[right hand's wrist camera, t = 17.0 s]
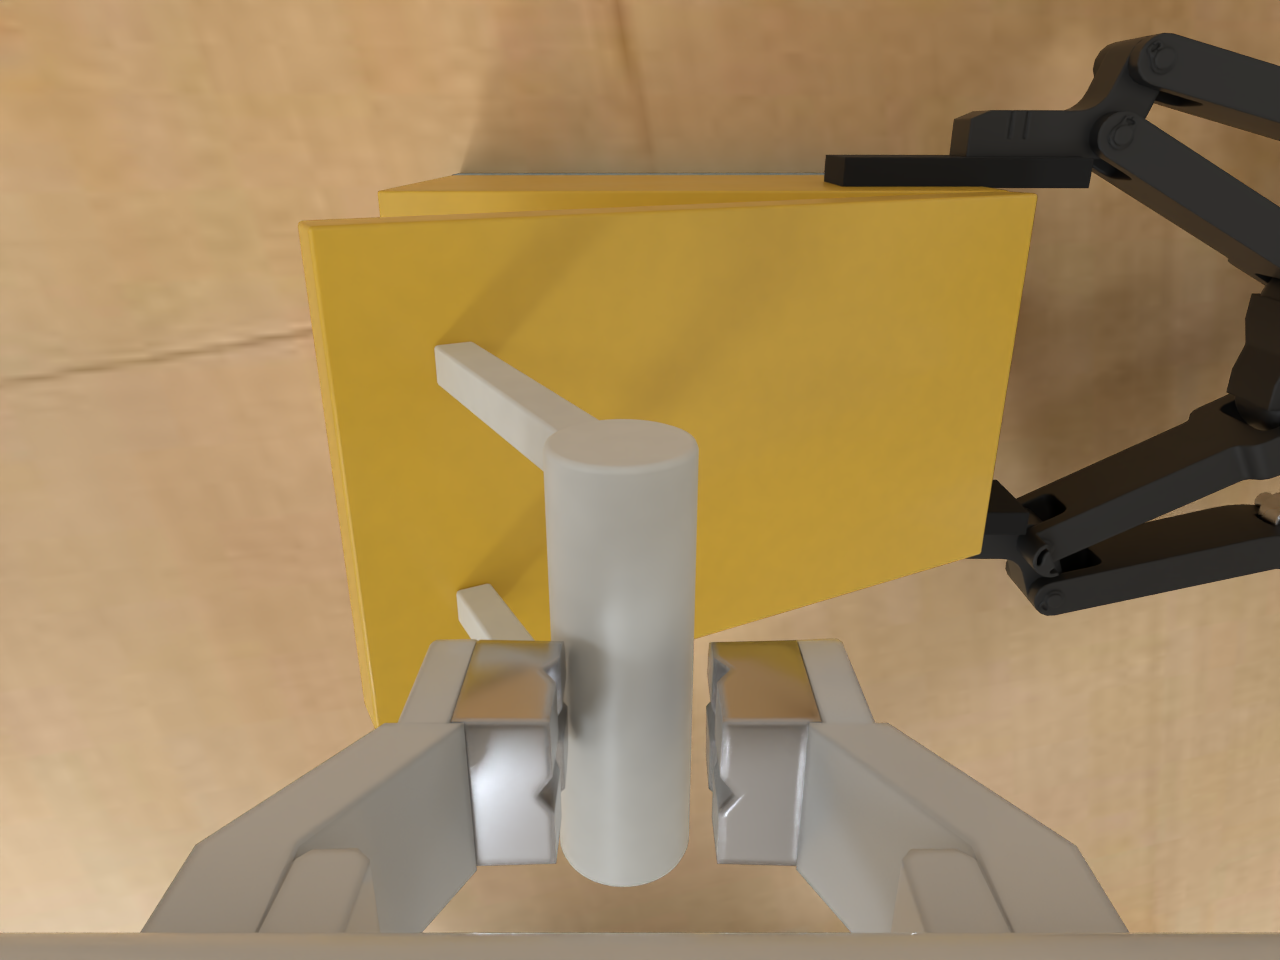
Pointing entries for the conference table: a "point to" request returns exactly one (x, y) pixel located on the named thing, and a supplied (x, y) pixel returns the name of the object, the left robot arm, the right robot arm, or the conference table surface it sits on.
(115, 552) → the conference table surface
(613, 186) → the chest
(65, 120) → the conference table surface
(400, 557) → the lid
